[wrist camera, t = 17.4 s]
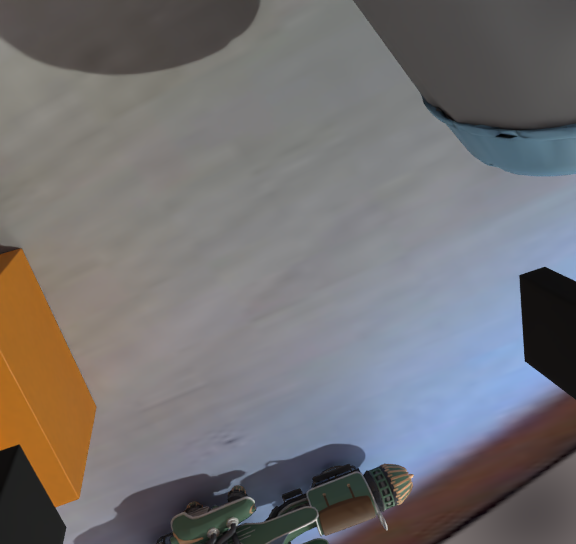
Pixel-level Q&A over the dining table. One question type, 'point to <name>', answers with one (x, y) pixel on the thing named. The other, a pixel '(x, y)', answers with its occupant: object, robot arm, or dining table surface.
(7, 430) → the orange striped block
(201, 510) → the hoverbike
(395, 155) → the dining table surface
